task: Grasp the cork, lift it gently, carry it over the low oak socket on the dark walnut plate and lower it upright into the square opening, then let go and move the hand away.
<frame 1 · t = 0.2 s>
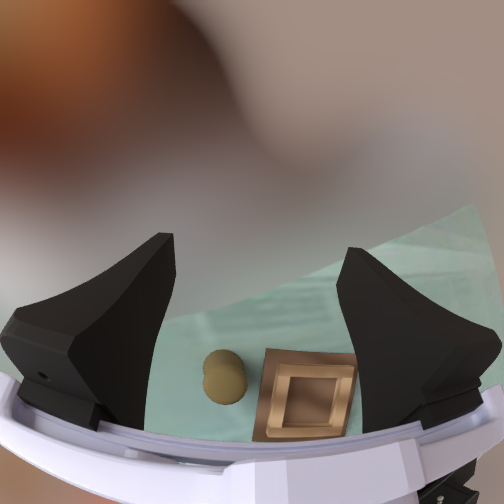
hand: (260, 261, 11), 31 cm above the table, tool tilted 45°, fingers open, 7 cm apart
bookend: (415, 469, 37), on the table
socket block: (308, 399, 39), on the table
cork: (223, 368, 39), on the table
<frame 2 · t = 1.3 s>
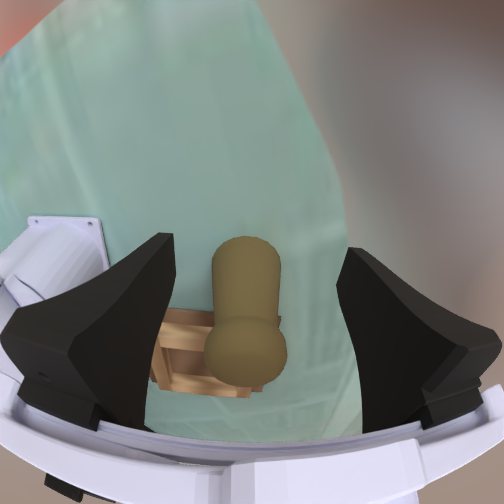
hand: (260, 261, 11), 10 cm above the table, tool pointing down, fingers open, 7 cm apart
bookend: (118, 417, 47), on the table
socket block: (203, 356, 32), on the table
cork: (246, 264, 24), on the table
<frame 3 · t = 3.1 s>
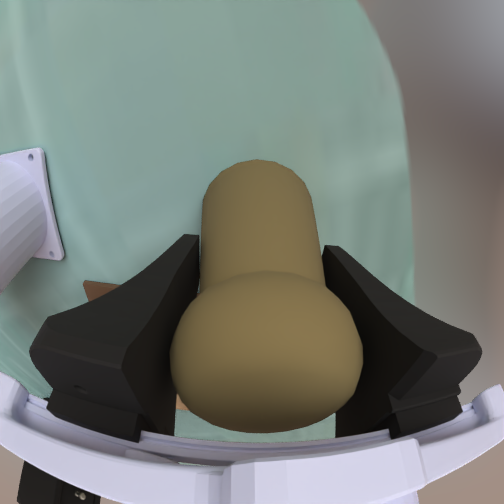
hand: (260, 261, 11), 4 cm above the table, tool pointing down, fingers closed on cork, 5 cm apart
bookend: (101, 427, 38), on the table
socket block: (194, 360, 22), on the table
cork: (257, 212, 15), on the table, touching gripper
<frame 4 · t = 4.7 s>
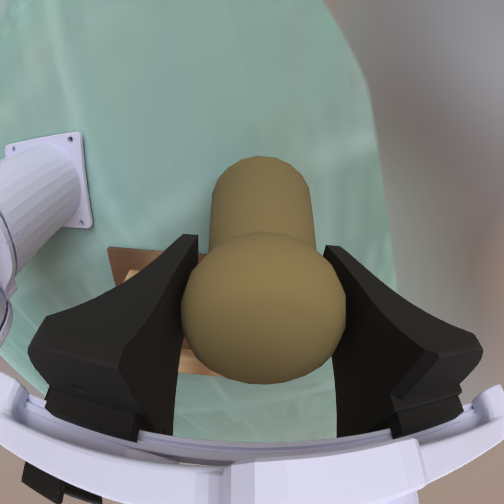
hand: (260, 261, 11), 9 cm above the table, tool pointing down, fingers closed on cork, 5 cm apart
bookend: (108, 408, 42), on the table
socket block: (200, 322, 26), on the table
cork: (261, 203, 17), point 3 cm above the table, touching gripper
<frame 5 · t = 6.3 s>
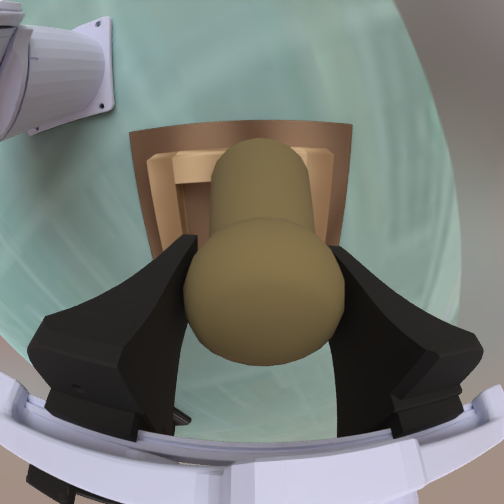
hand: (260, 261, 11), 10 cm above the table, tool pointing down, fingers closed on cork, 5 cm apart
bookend: (131, 391, 39), on the table
socket block: (242, 222, 22), on the table
cork: (260, 184, 17), point 3 cm above the table, touching gripper
when the fingers open (8 cm above the table, at t = 8.4 s): cork stays where it is, resting on socket block.
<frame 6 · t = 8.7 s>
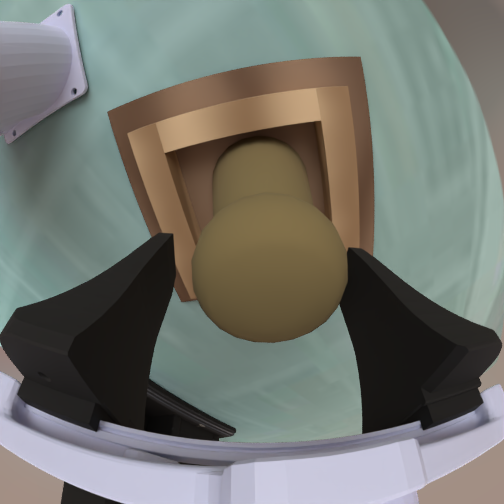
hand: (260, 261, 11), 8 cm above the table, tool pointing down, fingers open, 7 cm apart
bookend: (167, 407, 36), on the table
socket block: (256, 191, 18), on the table
cork: (259, 181, 17), resting on socket block
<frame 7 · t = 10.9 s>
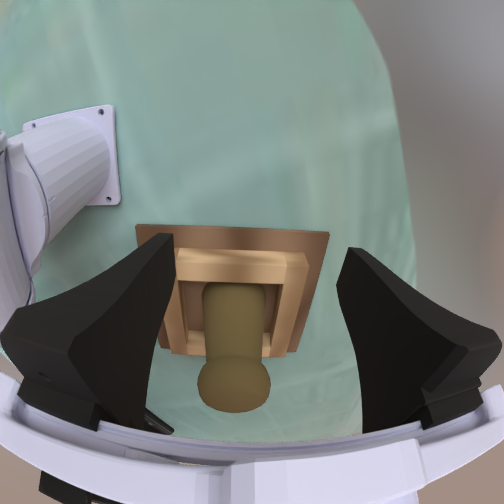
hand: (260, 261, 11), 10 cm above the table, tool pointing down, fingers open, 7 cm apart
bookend: (124, 405, 42), on the table
socket block: (229, 300, 26), on the table
cork: (233, 296, 26), resting on socket block
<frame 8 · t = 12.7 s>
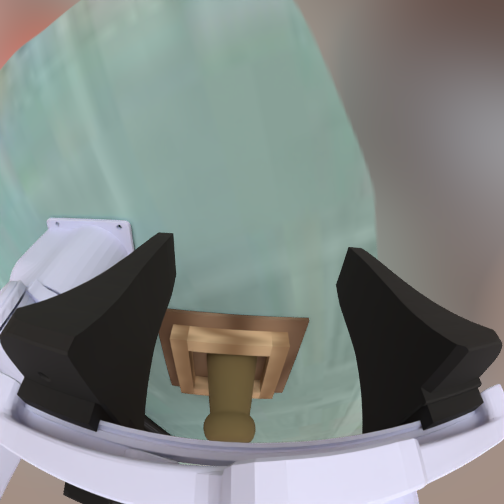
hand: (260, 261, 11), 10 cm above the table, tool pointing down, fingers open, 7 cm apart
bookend: (136, 420, 47), on the table
socket block: (228, 358, 32), on the table
cork: (231, 357, 31), resting on socket block
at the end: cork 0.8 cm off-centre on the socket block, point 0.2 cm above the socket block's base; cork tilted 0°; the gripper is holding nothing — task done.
